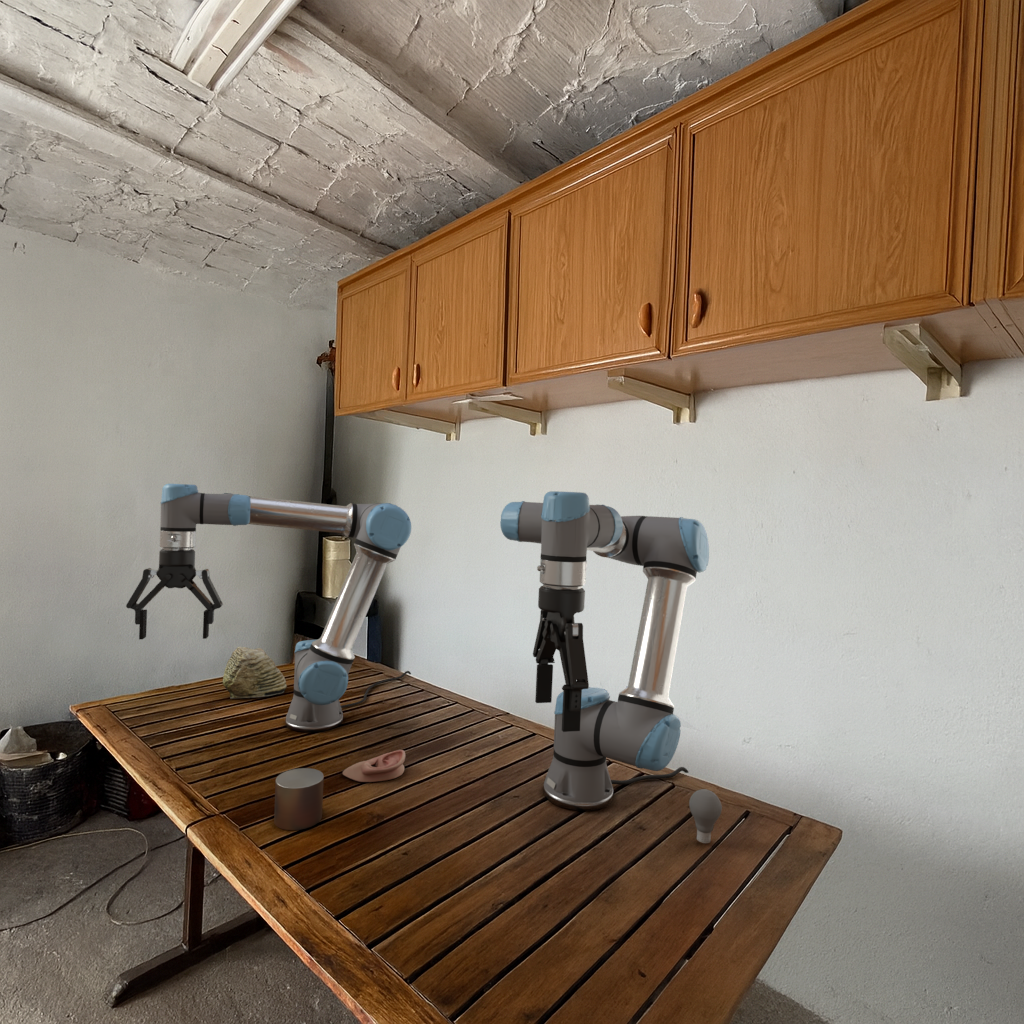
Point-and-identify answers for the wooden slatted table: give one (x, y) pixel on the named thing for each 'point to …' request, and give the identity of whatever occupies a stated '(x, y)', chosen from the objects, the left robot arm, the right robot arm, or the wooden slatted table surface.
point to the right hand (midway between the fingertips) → (556, 715)
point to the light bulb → (705, 812)
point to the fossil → (252, 674)
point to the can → (298, 799)
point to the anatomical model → (377, 768)
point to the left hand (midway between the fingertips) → (174, 637)
